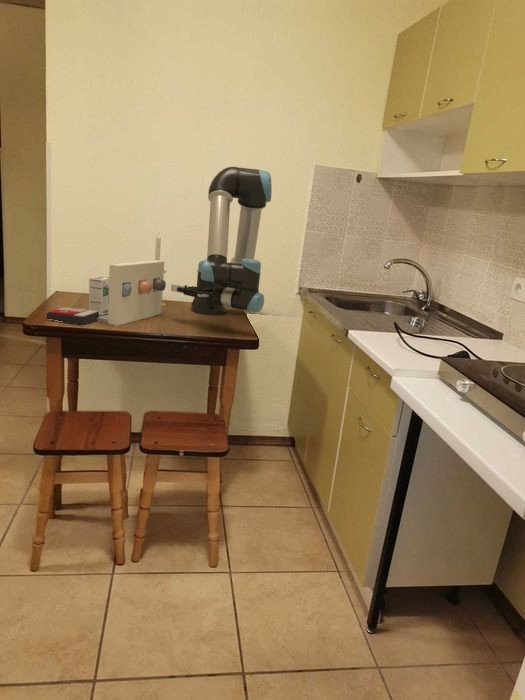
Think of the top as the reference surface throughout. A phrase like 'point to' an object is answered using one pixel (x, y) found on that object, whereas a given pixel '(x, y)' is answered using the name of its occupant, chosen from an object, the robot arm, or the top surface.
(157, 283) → the charcoal button
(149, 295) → the control panel
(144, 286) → the terracotta button
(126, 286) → the slate blue button
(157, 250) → the candle
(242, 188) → the robot arm
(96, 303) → the syrup box
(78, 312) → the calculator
